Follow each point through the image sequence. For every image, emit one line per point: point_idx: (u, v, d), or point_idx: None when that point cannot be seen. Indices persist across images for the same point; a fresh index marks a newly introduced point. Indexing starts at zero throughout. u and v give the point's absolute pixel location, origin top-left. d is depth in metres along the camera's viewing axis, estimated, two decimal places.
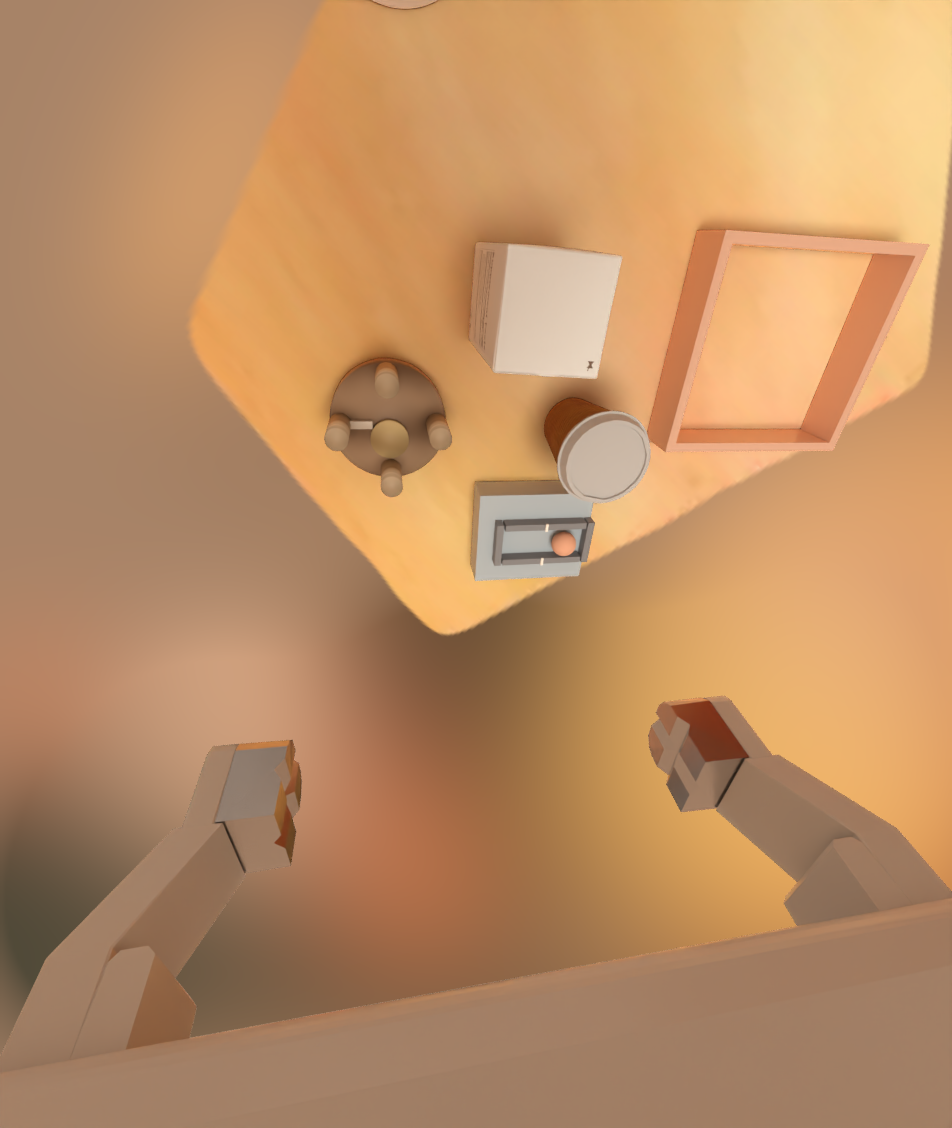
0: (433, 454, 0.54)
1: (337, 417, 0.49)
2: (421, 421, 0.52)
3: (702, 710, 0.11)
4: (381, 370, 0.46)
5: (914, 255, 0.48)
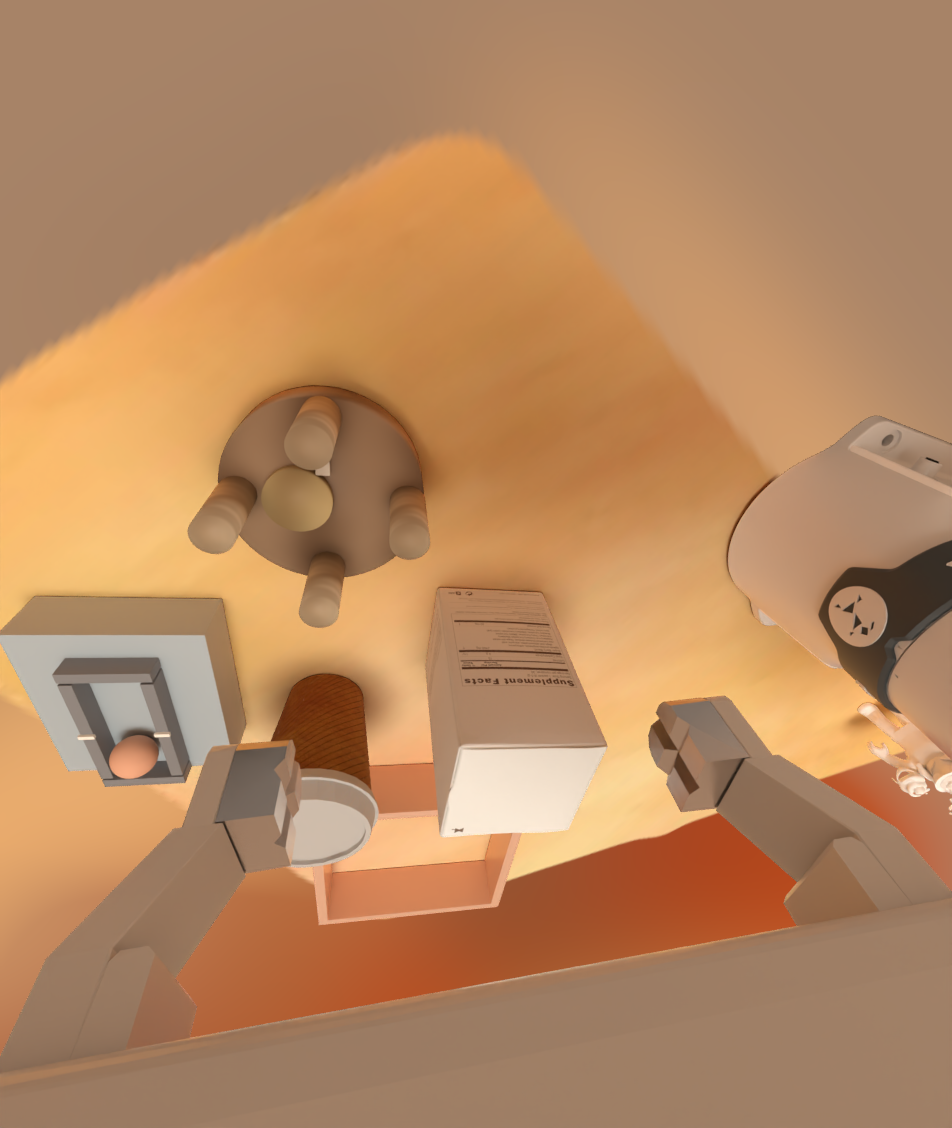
0: (273, 560, 0.32)
1: (339, 426, 0.26)
2: (330, 544, 0.32)
3: (702, 710, 0.11)
4: (426, 520, 0.28)
5: (491, 903, 0.59)
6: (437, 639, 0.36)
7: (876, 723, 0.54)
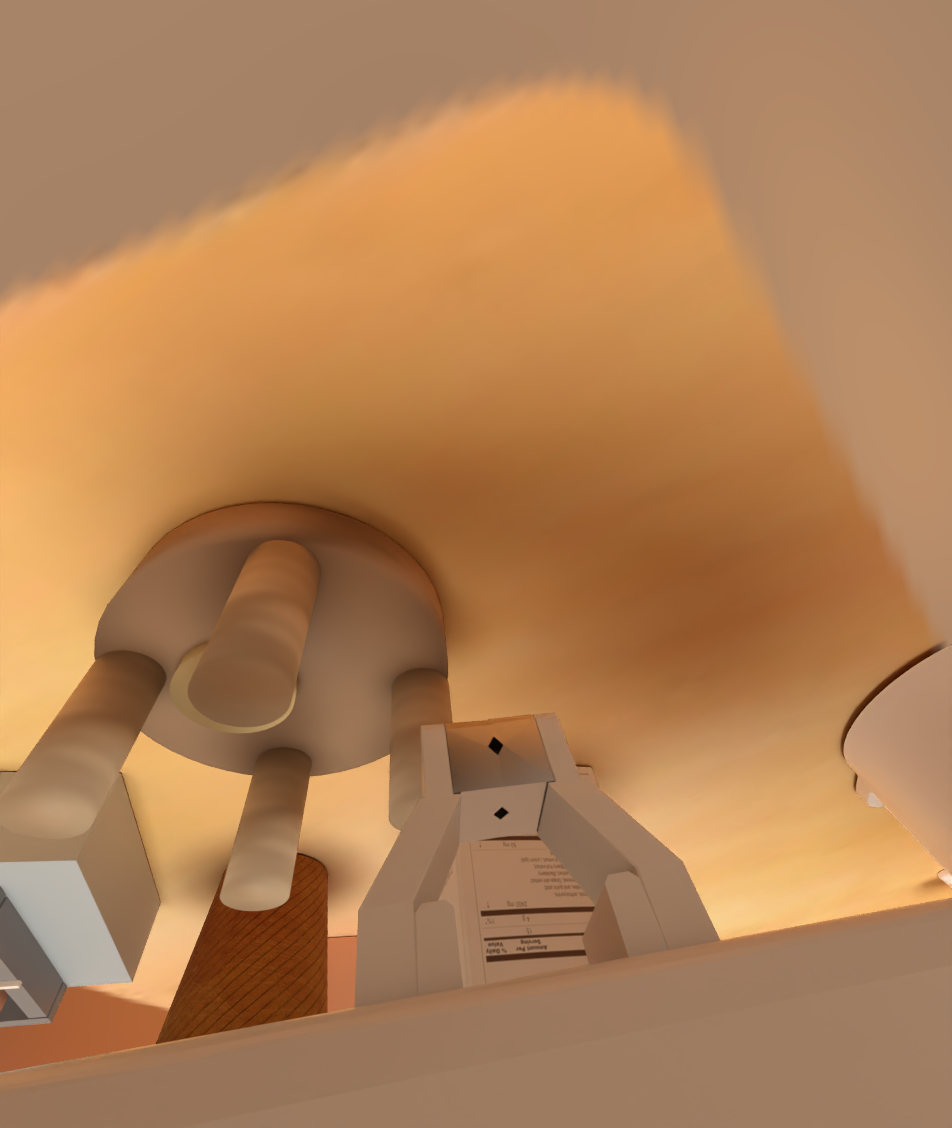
0: (193, 757, 0.20)
1: (313, 604, 0.14)
2: (290, 739, 0.20)
3: (523, 728, 0.10)
4: None
5: None
6: None
7: None
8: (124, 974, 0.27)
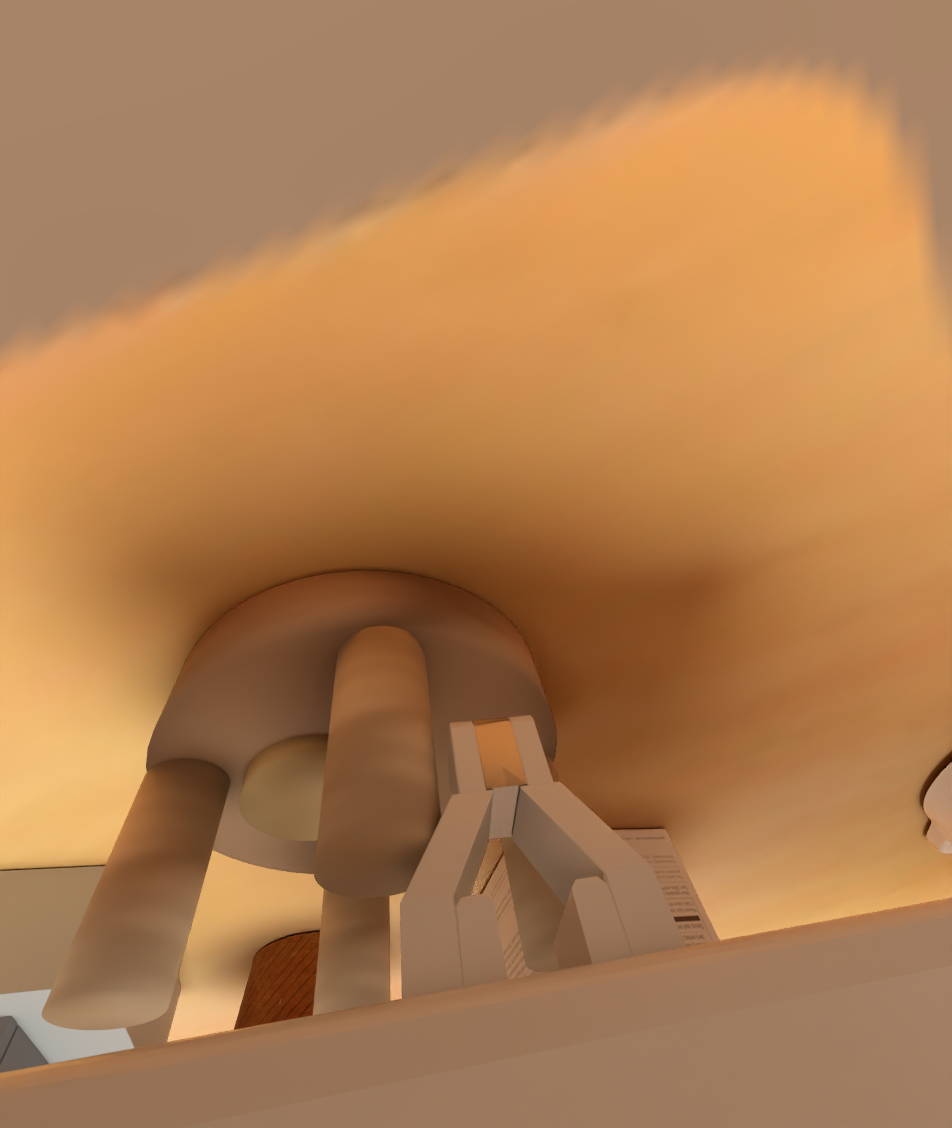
0: (255, 861, 0.17)
1: (429, 707, 0.11)
2: None
3: (497, 731, 0.10)
4: None
5: None
6: (520, 944, 0.21)
7: None
8: None
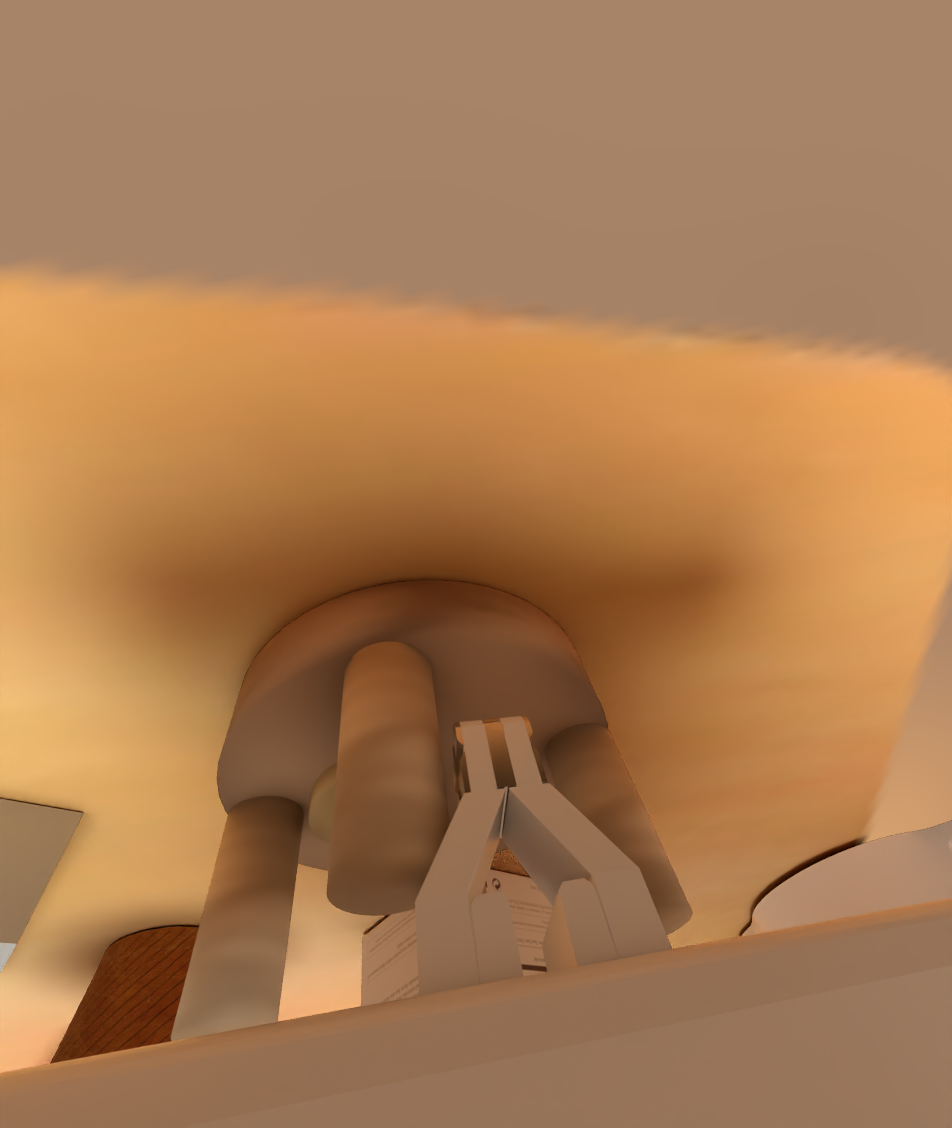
0: None
1: (436, 713, 0.11)
2: None
3: (487, 732, 0.10)
4: (655, 832, 0.13)
5: None
6: None
7: None
8: None
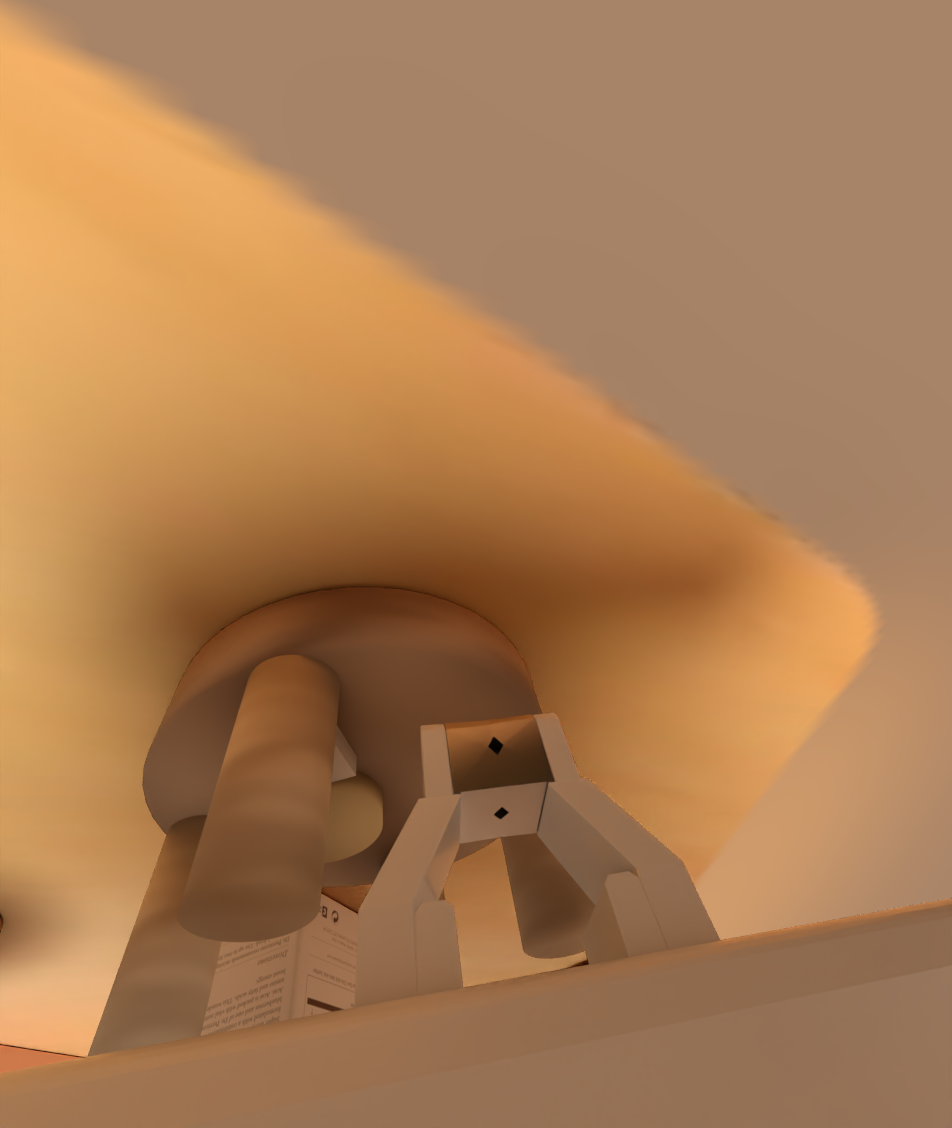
0: None
1: (331, 726, 0.11)
2: None
3: (523, 729, 0.10)
4: None
5: None
6: (252, 1004, 0.20)
7: None
8: None
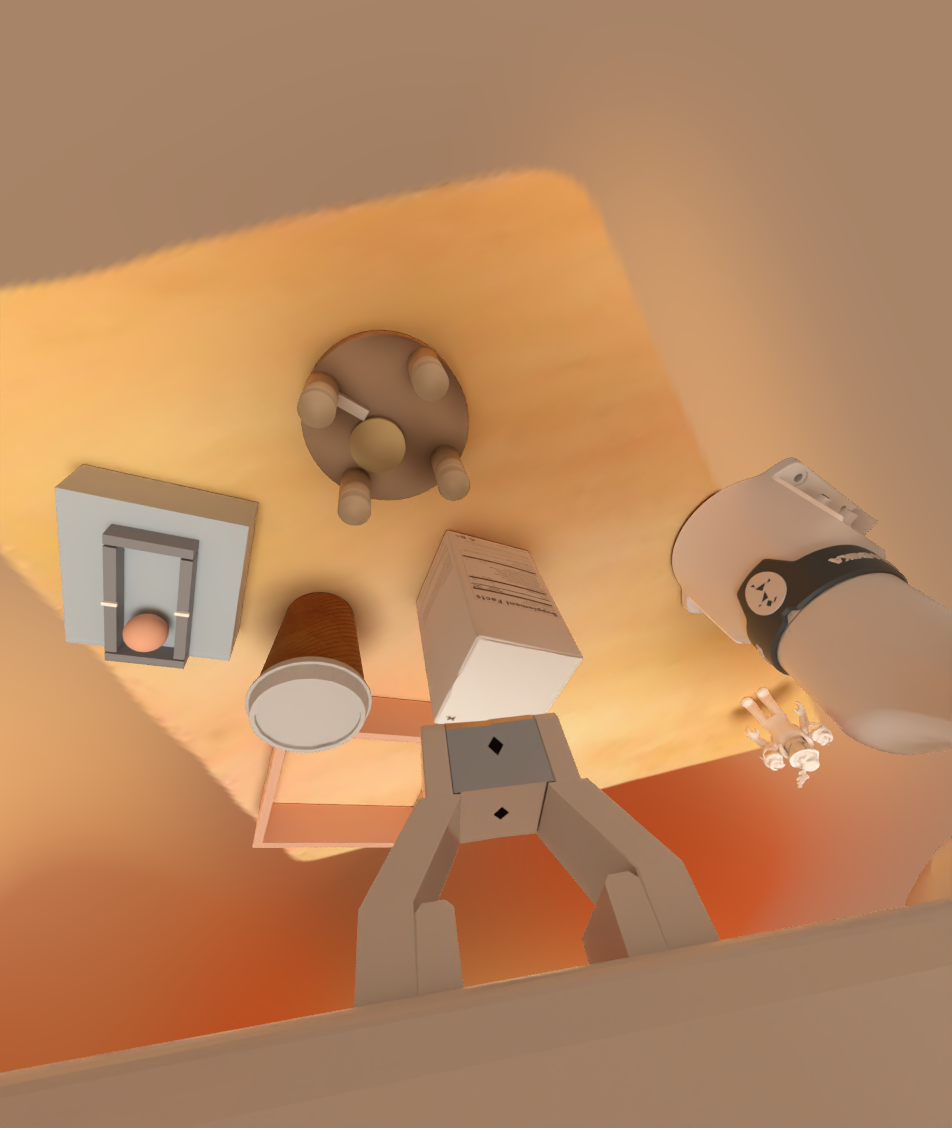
0: (418, 492, 0.39)
1: (328, 380, 0.32)
2: (428, 446, 0.37)
3: (523, 729, 0.10)
4: (430, 357, 0.31)
5: None
6: (444, 570, 0.42)
7: (753, 713, 0.67)
8: (228, 650, 0.43)
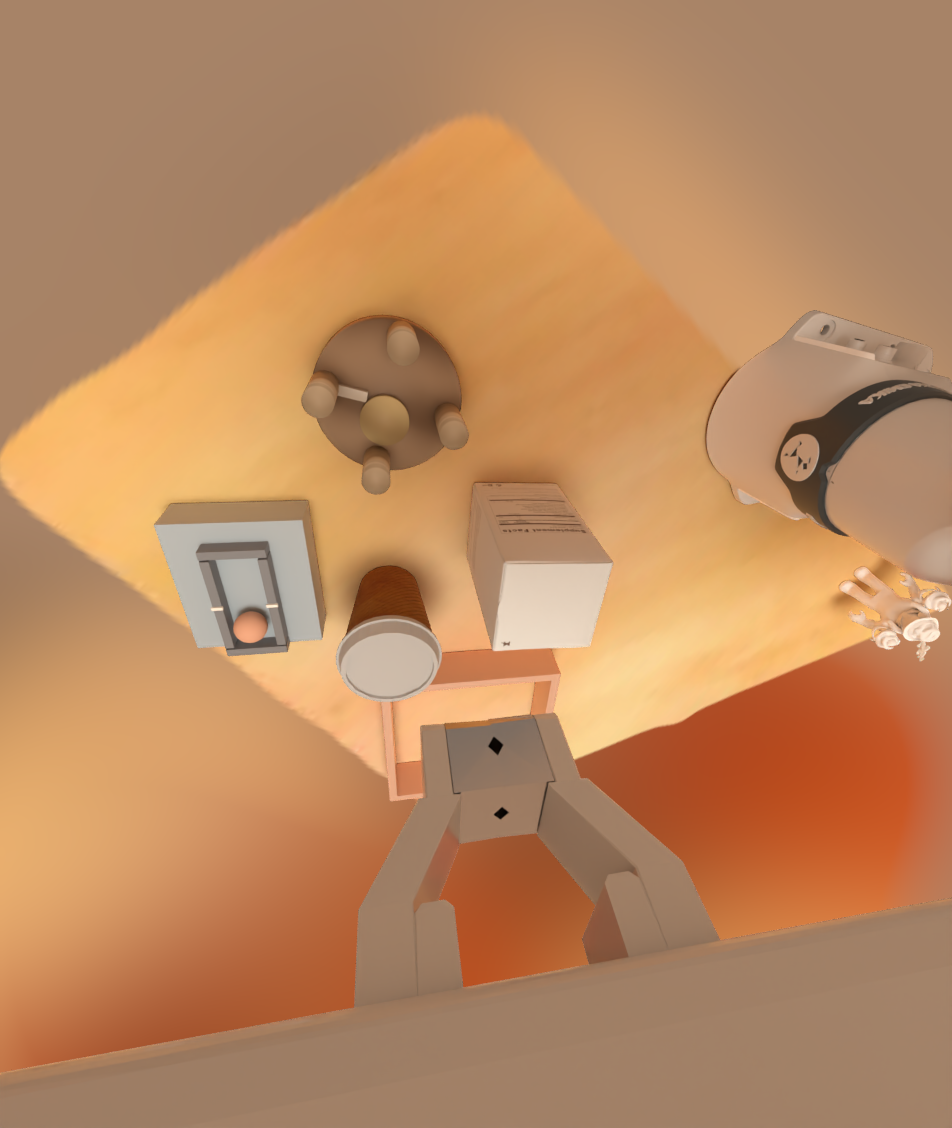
0: (433, 453, 0.43)
1: (324, 375, 0.37)
2: (429, 408, 0.41)
3: (523, 729, 0.10)
4: (399, 327, 0.34)
5: None
6: (477, 518, 0.46)
7: (855, 596, 0.63)
8: (318, 630, 0.50)
